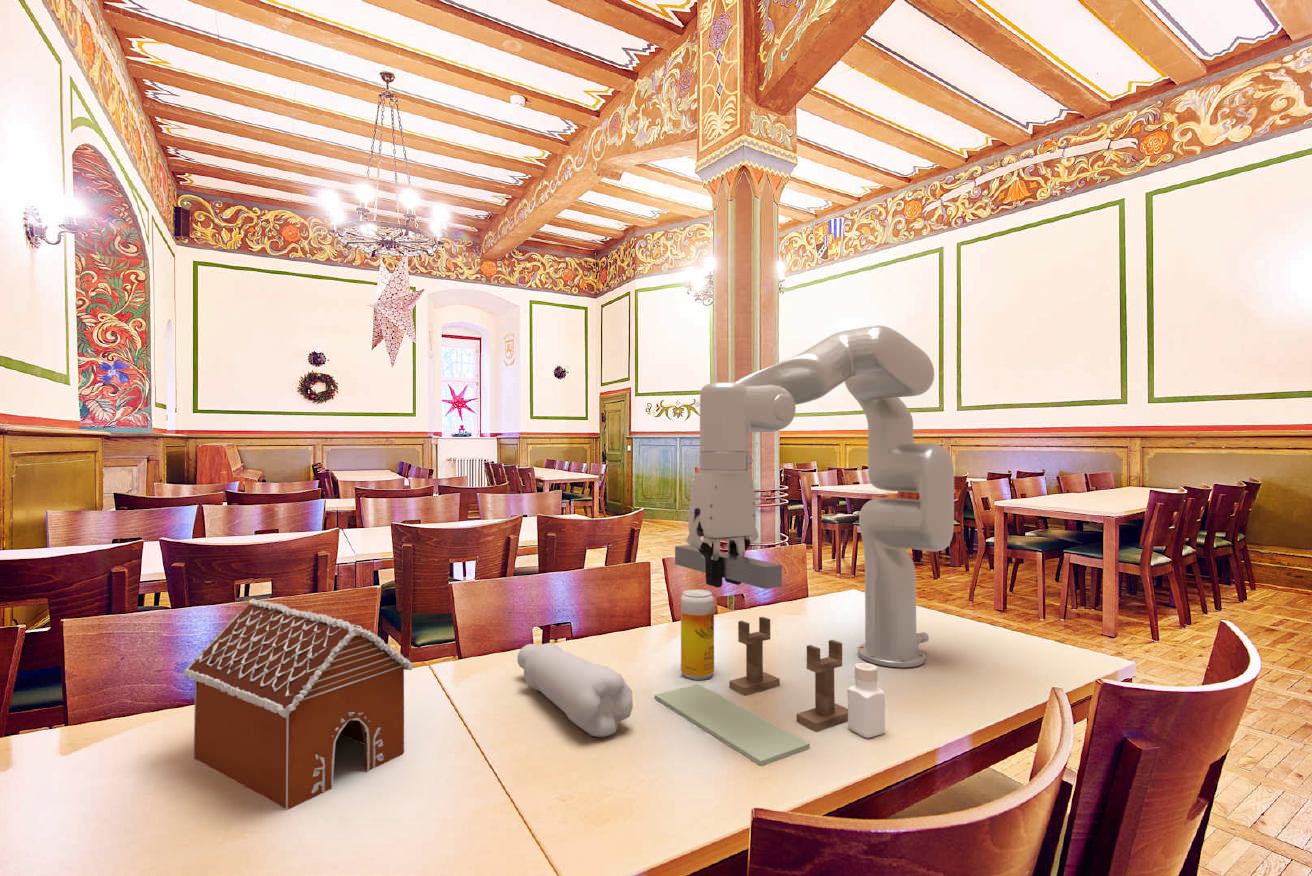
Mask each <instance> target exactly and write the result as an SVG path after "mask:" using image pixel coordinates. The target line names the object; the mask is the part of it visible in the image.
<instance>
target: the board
mask: <svg viewBox="0 0 1312 876" xmlns="http://www.w3.org/2000/svg"><path fill="white" fill-rule="evenodd" d="M654 699H655V701H658V702H659V703H660V704H663V705H664V706H665V707H667V708H668V709H670V710H672V711H674V712H675V713H677V714H678V715H680V716H681V717H683V718H684V719H686V720H687V721H689V722H691V723H693V724H694V725H696V726H697V727H699V728H700V729H702V730H704V731H705V732H706V733H708V734H710V735H711V736H713V737H715V738H716V739H718V740H719V741H721V742H722V743H724V744H726V745H727V746H729V747H730V748H732V749H733V750H736V751H737V752H738V753H740V754H742V755H743V756H745V757H746V758H748V759H750V760H751V761H752V762H754V763H755V764H757V765H758V766H765V765H767V764H770V763H772V762H775V761H777V760H781V759H783V758H786V757H789V756H791V755H794V754H797V753H800V752H803V751H805V750H806V751H807V750H808V749H811V744H810V742H808V741H806V740H804V739H802V738H800V737H798V736H796V735H794V734H792V733H791V732H789V731H788V730H785V729H783V728H782V727H780V726H778V725H776V724H774V723H772V722H770V721H769V720H766V719H765V718H763V717H761V716H759V715H757V714H755V713H753V712H751V711H750V710H748V709H747V708H746V709H745V708H744V707H742V706H740V705H738V704H736V703H734V702H733V701H731V700H729V699H727V698H725V697H723V696H722V695H720V694H717V693H716V692H714V691H712V690H710V689H708V688H706V687H705V686H703V685H701V684H699V683H696V684H693V685H689V686H684V687H680V688H676V689H672V690H668V691H664V692H661V693H657V694H654Z"/></svg>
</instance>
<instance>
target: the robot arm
mask: <svg viewBox="0 0 1312 876" xmlns="http://www.w3.org/2000/svg"><path fill="white" fill-rule="evenodd" d="M934 369H935V368H934V364H933V363H932V360H931V358H930V357H929V356H928V354H927V353H926V352H925V351H923V350H922V348H920V347H919V346H918V345H916V344H914V343H913V342H912V341H910V340H909V339H908V338H907V337H906V336H904V335H903V334H902V333H899V332H898V331H896V330H894V329H892V328H890V327H888V326H886V325H872V326H871V325H870V326H866V327H859V328H854V329H849V330H848V329H847V330H842V331H838V332H835V333H833V334H830V335H828V336H827V337H825V338H824V339H823V340H820V341H819V342H817V343H816V344H814V345H812V346H810V347H809V348H808V349H805V350H804V351H802V352H800V353H798V354H796V355H795V356H792V357H789V358H787V359H784V360H782V361H779V362H777V363H775V364H773V365H770V366H768V367H765V368H763V369H761V370H757V371H756V372H753V373H750V374H748V375H747V376H744V377H742V378H741V379H739V380H737V381H735V382H726V381H725V382H711V383H708V384H705V385H704V386H702V387H701V390H700V393H699V472H695V473H694V476H693V480H692V485H691V491H690V499H689V505H688V506H689V507H688V535H687V538H686V543H687V545H692V546H693V547H695V548H697V549H698V550H699V552H700V553H701V554H702V557H703V558H706V573H705V583H706V585H708V586H711V587H715V588H721V587H723V577H722V561H721V560H718V559H719V553H720V552H721V540H726V542H727V543H726V545H727V553H729V554H734V555H738V556H743V557H746V551H747V550H748V548H749V547H750V545H751V544H753V543H754V542H755V541H757V540H758V539H759V532H758V530H757V528H756V525H757V523H756V522H757V521H756V520H757V518H756V517H757V512H756V508H757V507H756V496H755V487H754V481H753V477H752V473H750V471H749V470H750V469H749V468H750V465H752V464H753V458H752V456H750V452H749V451H750V433H774V432H778V431H782V430H784V429H785V428H787V427H788V426H789V425H790V424H791V422H792V421H793V420H794V418H795V415H796V408H797V407H796V405H801V404H805V403H809V402H812V401H816V400H818V399H821V398H823V397H824V396H826V395H827V394H828V393H830V392H832V391H833V390H834V389H835V388H837V387H838V386H840V385H842V384H843V383H844V385H845V387H846V389H847V390H848V392H849V393H850V394H851V396H853V398H854V399H855V400H856V401H857V402H858V404H859V405H860V407H861V409H862V410H863V412H864V414H865V417H866V421H867V422H866V423H867V430H868V431H867V435H868V437H867V440H868V441H867V473H868V480H869V482H870V484H871V485H872V486H873V487H874V488H876V489H878V490H882V491H888V492H899V493H900V492H901V493H918V494H919V499H908V498H900V497H899V498H898V497H877V498H873V499H870V500H868V501H867V502H865V504H863V506H862V508H861V509H860V511H859V516H858V523H859V531H860V535H861V539H862V545H863V556H864V616H865V617H864V618H865V619H864V623H865V629H864V630H865V632H864V633H865V636H864V637H865V640H864V641H865V643H861V644H860V645H859V646H857V653H856V654H857V655H858V657H859V658H861V659H862V660H864V661H865V662H867V663H870V664H873V665H879V666H883V667H884V666H885V667H891V668H914V667H918V666H921V665H923V664H924V663H925V662H926V655H925V653H924V652H923V651H922V650H920V649H919V645H920V644H923V643H927V642H928V641H929V640H930V638H929V634H928V633H927V632H924V631H923V632H922V631H921V632H919V633H918V632H917V573H916V572H917V571H916V566H915V563H914V561H913V559H912V557H911V555H910V554H909V551H908V550H907V549H911V550H918V551H923V552H924V551H925V552H926V551H927V552H940V551H943V550H946V549H947V548H948V546H950V544H951V542H952V539H953V535H954V529H955V525H954V524H955V470H954V468H955V467H954V463H953V460H952V456H951V455H950V452H949V451H948V449H946V448H945V447H944V446H942V445H940V444H937V443H932V442H930V443H928V442H927V443H926V442H925V443H924V442H921V443H920V442H919V443H915V441H914V440H915V439H914V421H913V416H912V414H911V411H910V409H909V408H908V407H907V405H906V404H905V402H904V401H903V400H902V399H901V398H906V397H915V396H917V397H918V396H921V395H923V394H925V393H926V392H928V391H929V390H930V388H931V387H932V385H933V383H934V379H935V371H934ZM701 538H702V539H701ZM724 581H725V582H726V583H730V584H732V585H736V586H738V585H741V584H742V583H741V582H738V581H734V580H730V579H727V578H724Z"/></svg>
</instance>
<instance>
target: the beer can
mask: <svg viewBox="0 0 1312 876" xmlns="http://www.w3.org/2000/svg"><path fill="white" fill-rule="evenodd" d="M712 594H713V593H712V592H711V591H710V590H706V589H688V590H685V591H683V592H682V596H681V597H680V672H681V673H682V674H683V676H684V677H686V679H690V680H693V681H694V680H695V681H697V680H699V681H702V680H707V679H710V678H711V677H712V674H714V672H715V599H714V595H712Z"/></svg>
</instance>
